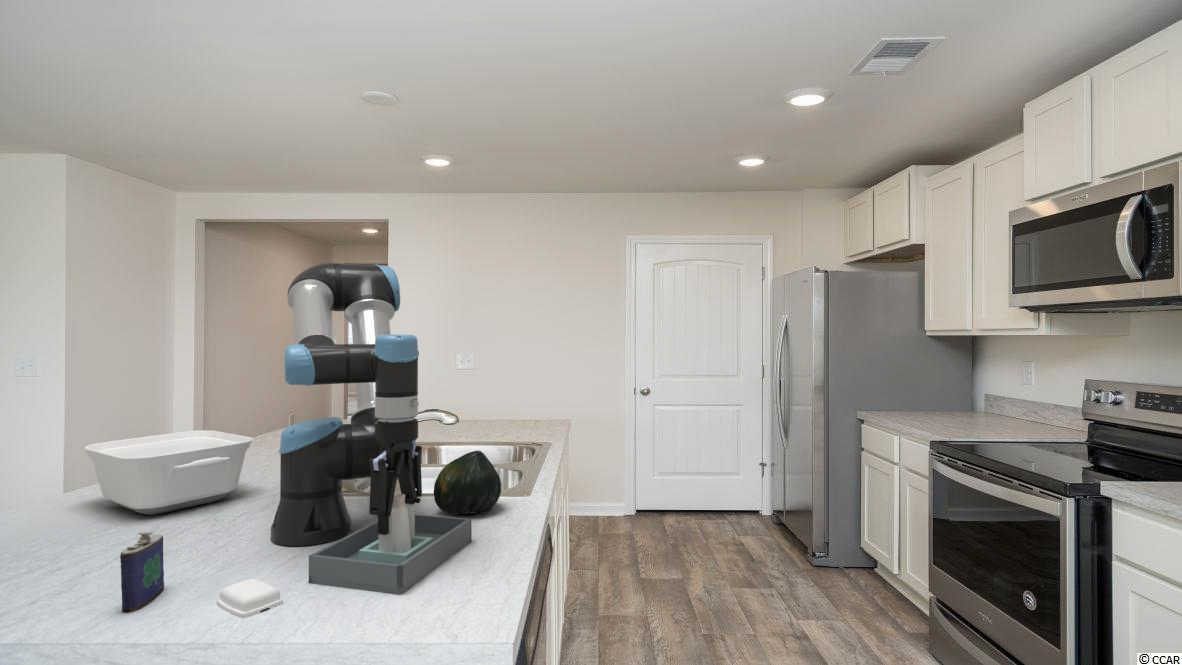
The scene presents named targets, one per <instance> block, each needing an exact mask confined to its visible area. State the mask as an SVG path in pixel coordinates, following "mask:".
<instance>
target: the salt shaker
mask: <svg viewBox="0 0 1182 665" xmlns="http://www.w3.org/2000/svg"><path fill="white" fill-rule="evenodd" d="M404 503H405V495H404V494H402V493H401V492H397V493H396V492H395V493H394V499H393V505H392V511H391V514H392V515H394V552H398V553H405V552H407V551H408V550H410V549H411V539H410V529H409V519H408V510H407V507H405V504H404Z"/></svg>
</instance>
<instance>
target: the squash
mask: <svg viewBox="0 0 1182 665" xmlns="http://www.w3.org/2000/svg"><path fill="white" fill-rule="evenodd" d="M501 491H502V482H501V478H500V475H499V474H498V472H497V470H496V467H495V466H494V465H493V463H492V462H491V461H490V460H489V459H488V457H487V456H486V455H485V453H484V452H482V451H481V450H473V451H470V452H466V453H465V454H463V455H461V456H459V457H457V458H455V459H454V460H452V461H450V462H449V463H447V464H446V465H445V466H444V467H442V469H441V470H440V472H439V473H438V475H437V477H436V478H435V481H434V485H433V497H434V499H433V500H434V502H435V504H436V506H437V507H438V508H439V510H441V511H442V512H445V513H448V514H450V515H459V513H460V514H462V515H465V514H468V513H470V514H478V515H479V514H482V515H483V514H486V513H488V512H490V511H491V510H492V508H494V507H495V505H496V504H497V503H498V501H499V499H500V497H501V493H502V492H501Z"/></svg>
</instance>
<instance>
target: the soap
mask: <svg viewBox="0 0 1182 665" xmlns="http://www.w3.org/2000/svg"><path fill="white" fill-rule="evenodd" d="M282 603H283V604H284V599H283V597H281V592H280V590H279V589H278V588H276V587H275V586H273V585H271V584H269V583H268V582H265V581H263V580H260V579H257V578H254V577H253V578H250V579H245V580H243V581H238V582H237V583H233V584H230V585H228V586H225V587H223V588H222V589H221V590H220V591H219V598H217V600H216V605H217V606H218V607H219V608H220V609H222V610H223V609H224V610H223V611H225V612H227V613H228V612H229V614H231V615H233V616H236V617H237V616H238V618H241V619H246V618H249V617H252V616H255V615H258V614H260V613H261V611H263V610H266V609H269V610H271V608H272V609H274V608H276V607H275V606H277V605H279V606H280V604H281V605H283V604H282ZM273 607H274V608H273ZM277 607H278V606H277ZM245 617H246V618H245Z"/></svg>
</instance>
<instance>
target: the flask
mask: <svg viewBox="0 0 1182 665" xmlns="http://www.w3.org/2000/svg"><path fill="white" fill-rule="evenodd" d="M137 535H140V538H138V540H137V543H135V544H134V545H132V546H130V545H129V546H127V547H126V549H123V551H121V552H120V555H119V556H120V557H119V558H120V561H119V562H120V578H121V579H120V580H121V581H120V585H121V586H120V587H121V612H122V614H126V613H127V614H130V613H134V612H137V611H139V610H141V609H143V608H144V607H145V606H147V605H149V604H150V603H152V602H153V601H155V599H156V598H157V597H158V596H159V595H160V594H162V592H164V588H165V573H164V572H165V571H164V562H165V561H164V535H163V534H160V533H158V534H154V532H153V531H151V532H149V531H147V532H146V531H141V532H138V533H137Z"/></svg>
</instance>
